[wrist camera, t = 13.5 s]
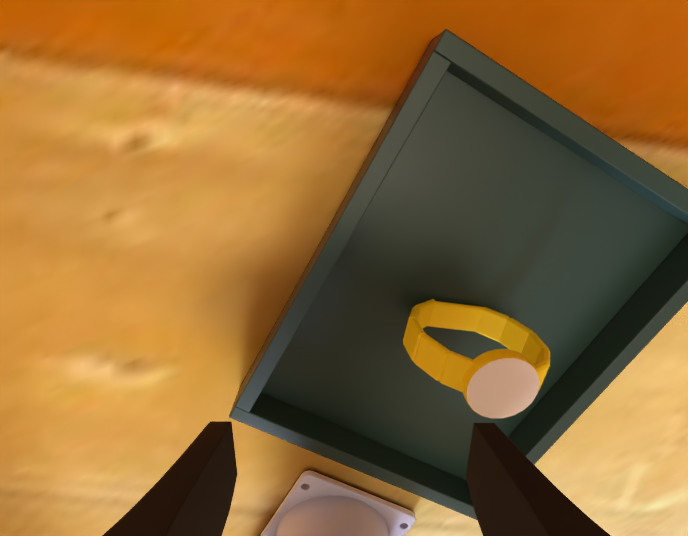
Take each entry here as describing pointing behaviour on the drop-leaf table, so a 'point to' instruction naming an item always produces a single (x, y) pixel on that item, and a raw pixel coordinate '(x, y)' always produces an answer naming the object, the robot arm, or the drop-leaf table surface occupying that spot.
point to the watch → (480, 357)
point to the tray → (469, 276)
